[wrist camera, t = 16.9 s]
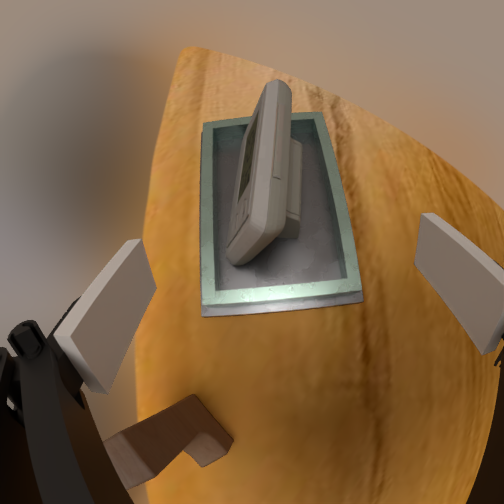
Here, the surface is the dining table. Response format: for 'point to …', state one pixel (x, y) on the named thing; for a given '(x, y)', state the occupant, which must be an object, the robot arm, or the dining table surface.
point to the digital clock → (266, 179)
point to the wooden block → (167, 441)
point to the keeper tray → (280, 249)
